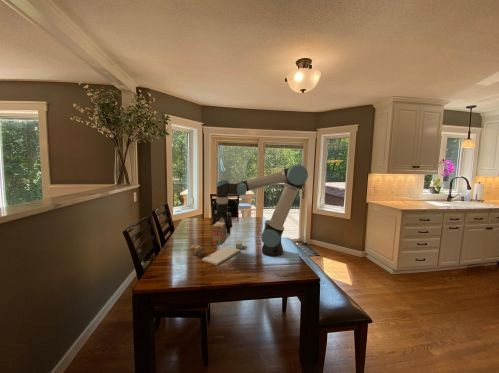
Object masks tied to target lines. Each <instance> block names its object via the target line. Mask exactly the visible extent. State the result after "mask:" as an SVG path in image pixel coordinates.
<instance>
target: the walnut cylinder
mask: <svg viewBox="0 0 499 373" xmlns="http://www.w3.org/2000/svg"><path fill="white" fill-rule="evenodd" d="M205 257H206V247H205V246H201V245H200V247H198V258H201V259H203V258H205Z"/></svg>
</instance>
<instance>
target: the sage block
mask: <svg viewBox="0 0 499 373" xmlns="http://www.w3.org/2000/svg"><path fill="white" fill-rule="evenodd" d="M242 247H243V240H236V242H235V249H239V250H242V249H243V248H242Z"/></svg>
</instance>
